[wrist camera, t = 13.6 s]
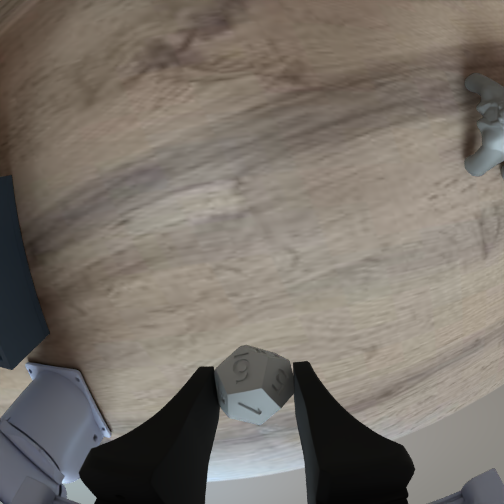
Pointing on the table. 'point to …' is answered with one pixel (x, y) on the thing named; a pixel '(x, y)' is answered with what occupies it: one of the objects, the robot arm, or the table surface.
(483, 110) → the elephant statuette
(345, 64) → the table surface
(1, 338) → the compartment
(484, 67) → the table surface
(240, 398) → the game die
